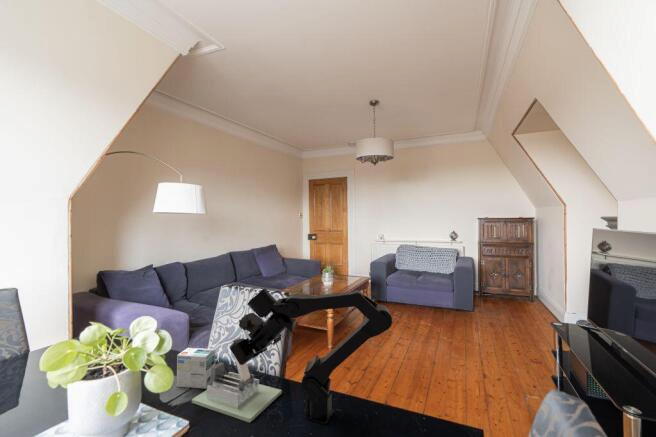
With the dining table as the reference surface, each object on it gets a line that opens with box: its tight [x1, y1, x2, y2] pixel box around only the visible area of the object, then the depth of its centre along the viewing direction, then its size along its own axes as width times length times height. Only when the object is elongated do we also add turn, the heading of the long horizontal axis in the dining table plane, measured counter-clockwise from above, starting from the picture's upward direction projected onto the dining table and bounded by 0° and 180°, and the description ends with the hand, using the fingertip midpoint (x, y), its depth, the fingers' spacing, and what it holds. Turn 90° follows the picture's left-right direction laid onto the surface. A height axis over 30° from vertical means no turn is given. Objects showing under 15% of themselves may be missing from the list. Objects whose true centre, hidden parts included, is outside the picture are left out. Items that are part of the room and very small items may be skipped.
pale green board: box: [191, 383, 283, 423], centre depth 94 cm, size 22×16×1 cm
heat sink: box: [206, 361, 260, 409], centre depth 94 cm, size 13×10×8 cm
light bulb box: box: [176, 347, 216, 390], centre depth 102 cm, size 11×7×11 cm, turn 84°
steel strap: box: [230, 337, 252, 387], centre depth 92 cm, size 14×3×2 cm
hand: (241, 358), depth 92 cm, fingers closed, pressing on steel strap
